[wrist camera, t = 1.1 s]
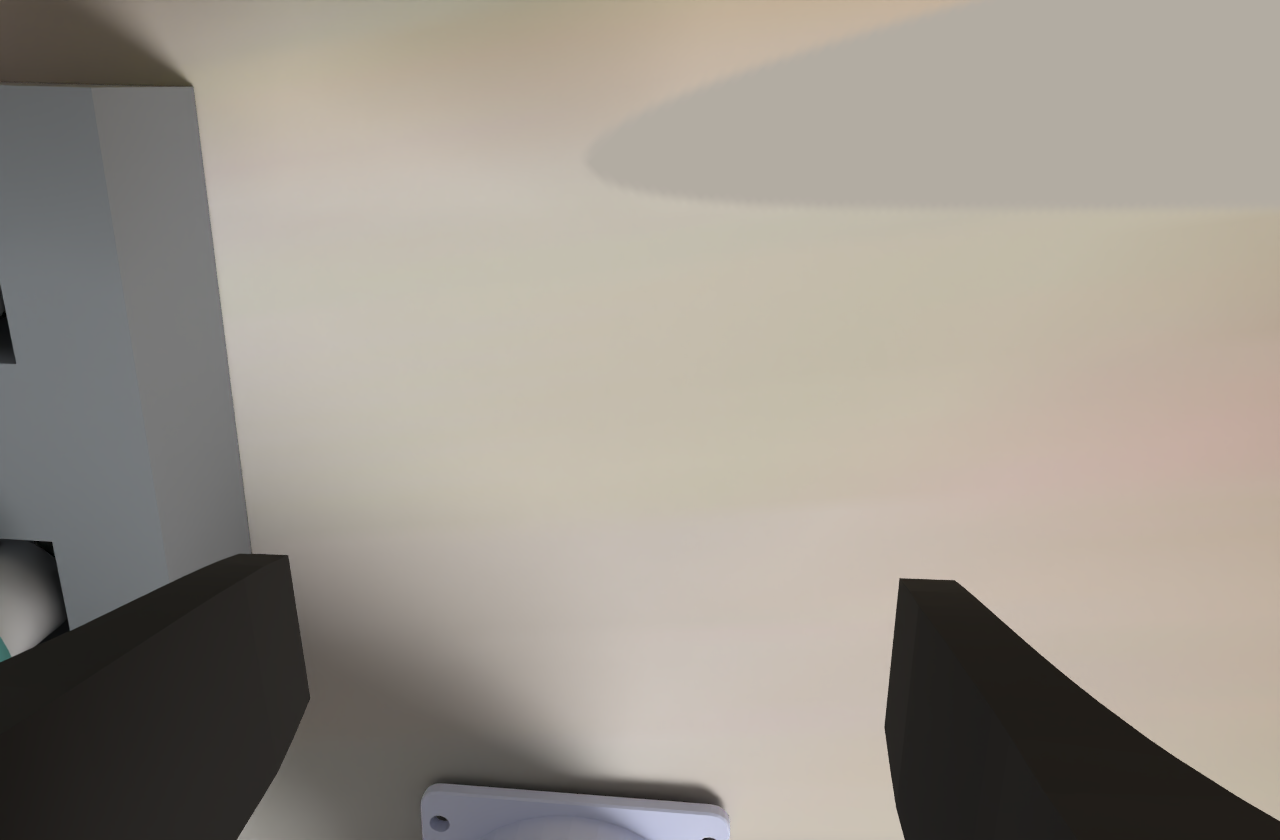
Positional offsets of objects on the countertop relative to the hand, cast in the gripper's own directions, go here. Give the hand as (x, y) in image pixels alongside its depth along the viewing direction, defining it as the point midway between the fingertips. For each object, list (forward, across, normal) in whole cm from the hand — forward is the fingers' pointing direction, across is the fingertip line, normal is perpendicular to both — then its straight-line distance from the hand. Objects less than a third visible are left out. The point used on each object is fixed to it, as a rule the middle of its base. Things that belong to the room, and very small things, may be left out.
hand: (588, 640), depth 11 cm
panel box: (+10, +14, +1) cm, 17 cm away
